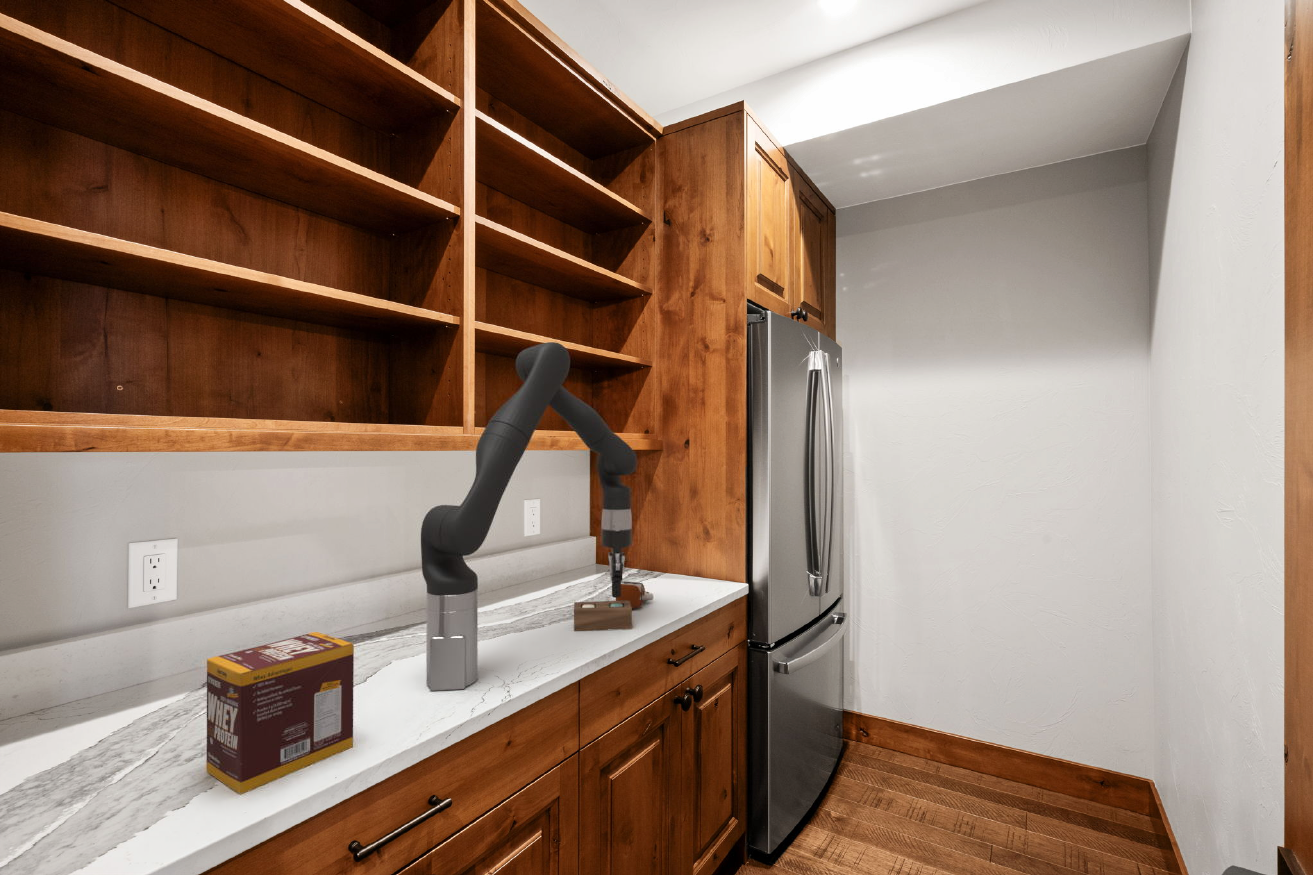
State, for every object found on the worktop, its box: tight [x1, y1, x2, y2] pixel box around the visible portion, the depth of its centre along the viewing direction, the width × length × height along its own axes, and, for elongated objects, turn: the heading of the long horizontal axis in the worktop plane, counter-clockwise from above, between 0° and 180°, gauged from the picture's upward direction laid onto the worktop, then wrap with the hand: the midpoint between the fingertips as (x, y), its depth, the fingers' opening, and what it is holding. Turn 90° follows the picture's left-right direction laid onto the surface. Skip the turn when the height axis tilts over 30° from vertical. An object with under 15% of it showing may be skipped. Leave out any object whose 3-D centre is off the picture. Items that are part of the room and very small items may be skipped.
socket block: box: [573, 600, 633, 632], centre depth 153 cm, size 8×14×5 cm, turn 97°
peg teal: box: [611, 603, 623, 607], centre depth 153 cm, size 3×3×5 cm
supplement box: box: [205, 631, 355, 795], centre depth 88 cm, size 10×15×16 cm
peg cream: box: [582, 604, 594, 608], centre depth 152 cm, size 3×3×5 cm
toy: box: [615, 581, 654, 609], centre depth 174 cm, size 9×7×15 cm
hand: (616, 596), depth 153 cm, fingers closed
